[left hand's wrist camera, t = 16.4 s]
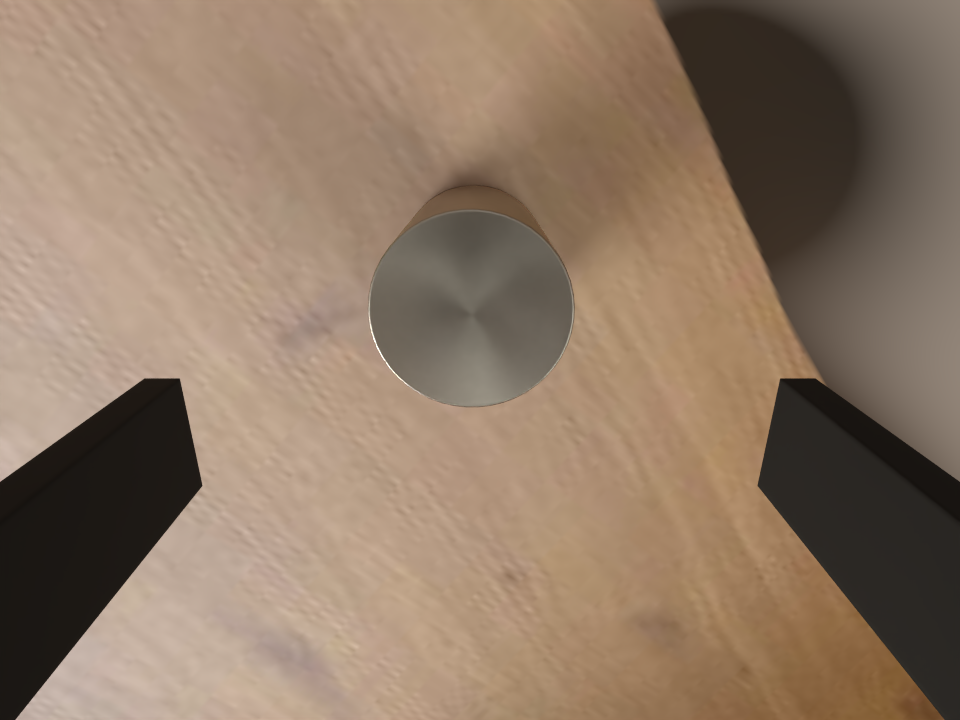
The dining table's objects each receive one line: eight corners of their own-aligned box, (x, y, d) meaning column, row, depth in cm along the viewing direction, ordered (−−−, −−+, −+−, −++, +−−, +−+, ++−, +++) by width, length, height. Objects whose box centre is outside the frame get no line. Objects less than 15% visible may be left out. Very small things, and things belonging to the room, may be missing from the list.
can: (402, 323, 28) (369, 403, 20) (403, 180, 26) (365, 202, 18) (538, 331, 29) (562, 413, 20) (552, 189, 26) (587, 215, 18)
